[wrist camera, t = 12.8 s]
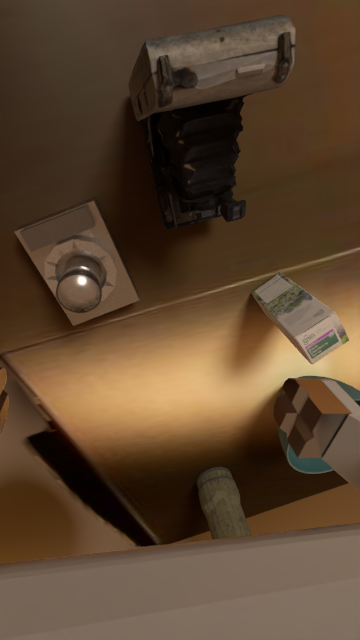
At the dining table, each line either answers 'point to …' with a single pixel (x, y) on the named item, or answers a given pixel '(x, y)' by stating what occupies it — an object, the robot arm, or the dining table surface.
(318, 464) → the teal bowl
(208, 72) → the vintage camera
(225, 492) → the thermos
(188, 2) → the dining table surface
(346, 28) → the dining table surface
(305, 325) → the syrup box
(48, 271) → the mount
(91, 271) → the knob
